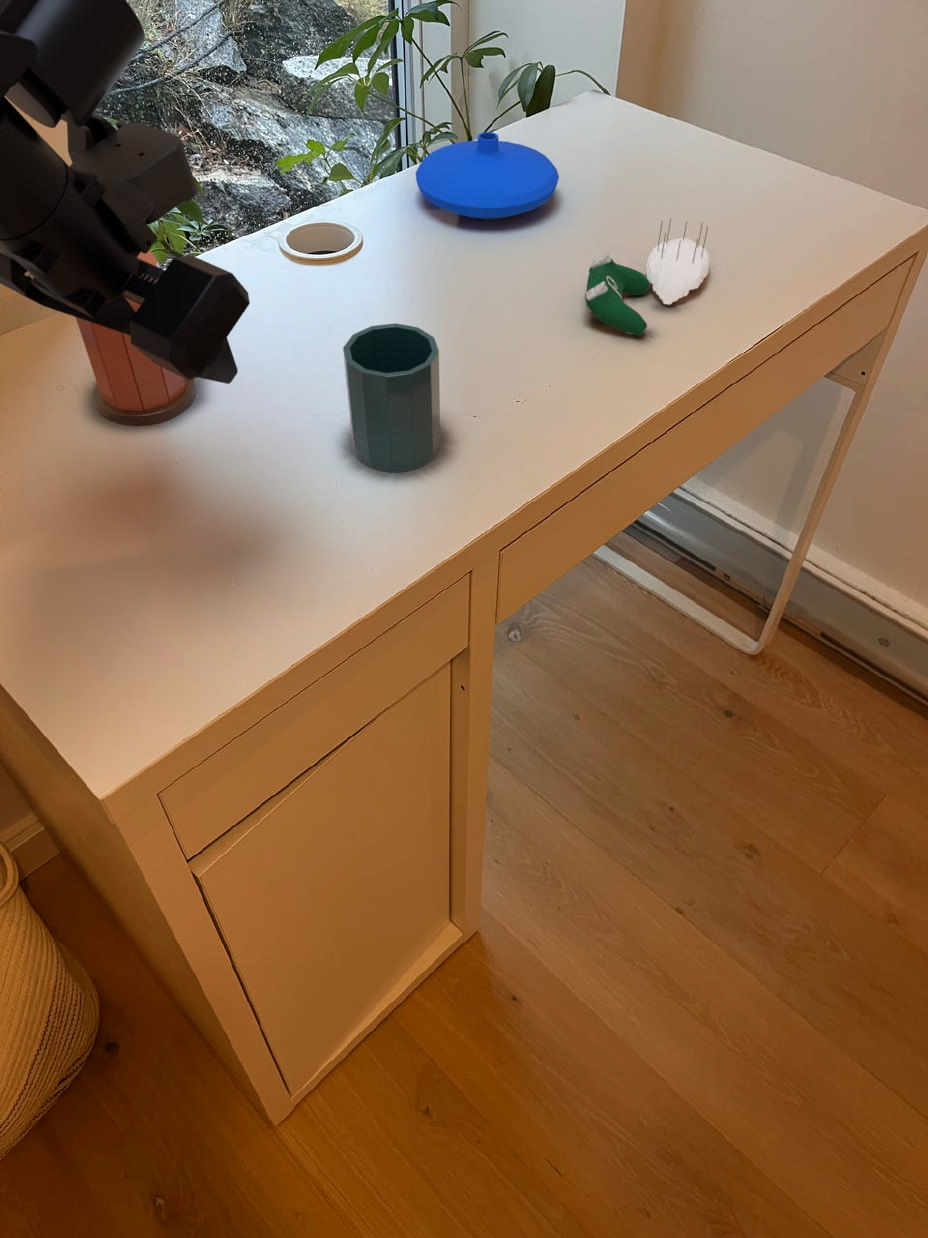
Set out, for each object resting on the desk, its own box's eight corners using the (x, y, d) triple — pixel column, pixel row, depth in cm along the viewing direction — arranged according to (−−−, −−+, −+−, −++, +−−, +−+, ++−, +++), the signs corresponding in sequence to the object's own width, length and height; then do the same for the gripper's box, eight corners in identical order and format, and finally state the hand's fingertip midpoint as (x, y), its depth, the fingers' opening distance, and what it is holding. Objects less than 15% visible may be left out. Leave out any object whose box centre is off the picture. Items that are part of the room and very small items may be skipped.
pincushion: (655, 244, 102) (664, 191, 98) (714, 253, 101) (725, 199, 97) (635, 302, 95) (643, 246, 91) (697, 312, 94) (709, 256, 89)
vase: (582, 193, 110) (588, 128, 105) (509, 249, 102) (512, 181, 96) (466, 159, 116) (466, 96, 111) (387, 210, 107) (384, 144, 102)
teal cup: (359, 477, 77) (350, 380, 70) (348, 424, 82) (338, 329, 75) (446, 466, 78) (445, 369, 71) (430, 414, 83) (428, 319, 76)
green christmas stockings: (622, 303, 98) (584, 261, 95) (653, 281, 96) (614, 236, 93) (617, 354, 92) (576, 310, 89) (650, 332, 90) (608, 285, 87)
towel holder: (95, 431, 81) (73, 369, 76) (98, 374, 86) (79, 313, 82) (198, 419, 82) (183, 357, 77) (195, 363, 87) (181, 302, 83)
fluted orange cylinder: (100, 416, 80) (60, 294, 72) (103, 367, 85) (66, 247, 77) (187, 406, 81) (156, 285, 73) (185, 358, 86) (156, 239, 78)
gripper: (229, 117, 49) (352, 300, 63) (2, 37, 56) (158, 218, 70) (104, 297, 48) (258, 442, 62) (-112, 192, 55) (70, 343, 69)
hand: (184, 353), depth 66 cm, fingers open, 9 cm apart
